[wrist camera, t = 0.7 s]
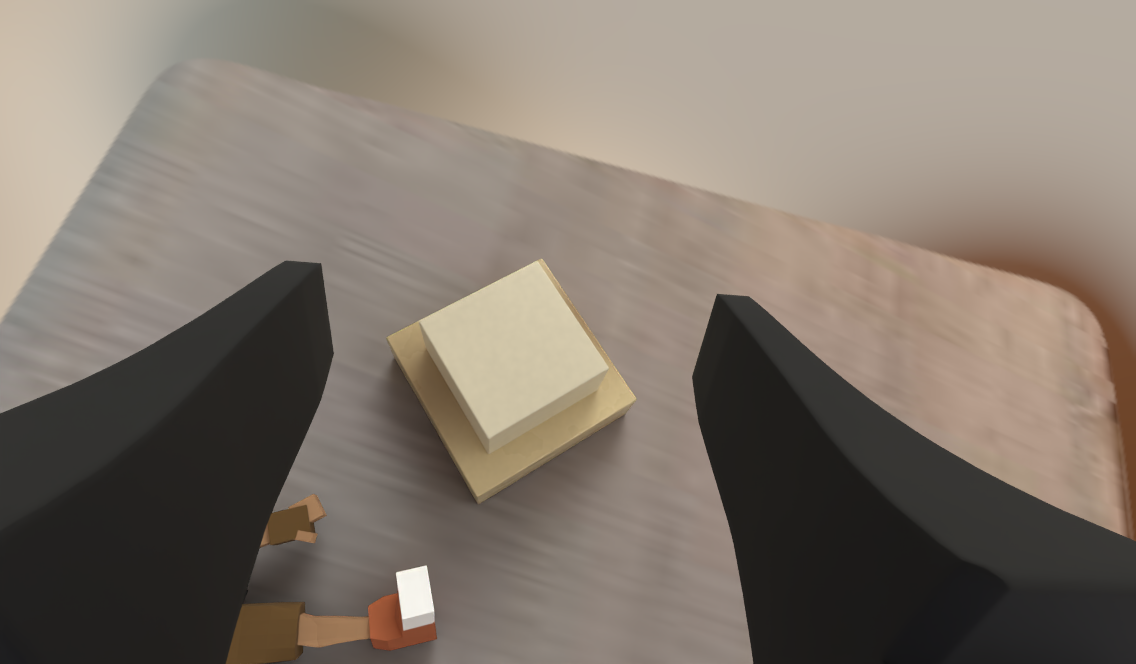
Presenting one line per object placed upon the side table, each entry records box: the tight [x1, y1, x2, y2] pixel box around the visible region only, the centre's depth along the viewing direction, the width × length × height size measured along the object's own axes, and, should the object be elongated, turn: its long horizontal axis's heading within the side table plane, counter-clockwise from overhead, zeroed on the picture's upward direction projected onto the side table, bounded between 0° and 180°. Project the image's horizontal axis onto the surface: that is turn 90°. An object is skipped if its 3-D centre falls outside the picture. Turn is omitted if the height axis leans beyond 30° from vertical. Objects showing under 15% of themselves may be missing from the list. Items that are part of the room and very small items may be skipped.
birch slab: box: [386, 259, 636, 504], centre depth 29 cm, size 8×8×2 cm
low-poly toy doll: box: [226, 494, 437, 664], centre depth 24 cm, size 12×5×18 cm
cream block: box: [419, 261, 609, 454], centre depth 27 cm, size 6×6×3 cm
